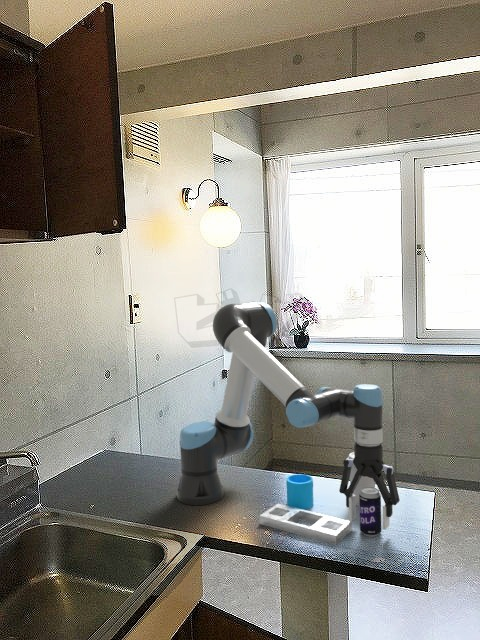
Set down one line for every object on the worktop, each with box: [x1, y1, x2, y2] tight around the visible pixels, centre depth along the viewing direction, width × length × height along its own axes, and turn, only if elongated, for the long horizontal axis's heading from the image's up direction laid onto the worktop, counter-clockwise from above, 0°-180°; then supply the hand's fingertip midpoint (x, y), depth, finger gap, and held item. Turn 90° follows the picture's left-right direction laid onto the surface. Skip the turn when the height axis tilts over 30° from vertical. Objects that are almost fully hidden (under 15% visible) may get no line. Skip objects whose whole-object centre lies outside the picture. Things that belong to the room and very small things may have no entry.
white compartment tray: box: [259, 503, 353, 546], centre depth 158 cm, size 24×10×3 cm, turn 54°
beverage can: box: [359, 487, 382, 537], centre depth 152 cm, size 6×6×12 cm
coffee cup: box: [347, 451, 376, 507], centre depth 173 cm, size 10×10×15 cm
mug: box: [285, 473, 314, 510], centre depth 175 cm, size 12×8×8 cm
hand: (368, 523), depth 153 cm, fingers open, 9 cm apart
